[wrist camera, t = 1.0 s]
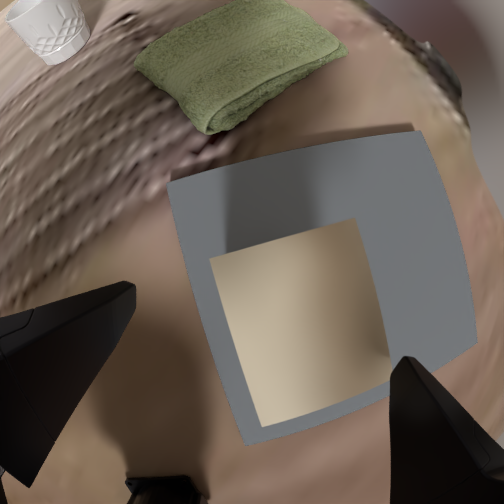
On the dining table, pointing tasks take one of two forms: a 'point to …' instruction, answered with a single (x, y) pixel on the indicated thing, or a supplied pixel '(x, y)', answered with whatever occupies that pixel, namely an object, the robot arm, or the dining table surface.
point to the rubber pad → (325, 213)
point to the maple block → (304, 320)
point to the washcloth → (236, 59)
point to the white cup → (50, 27)
